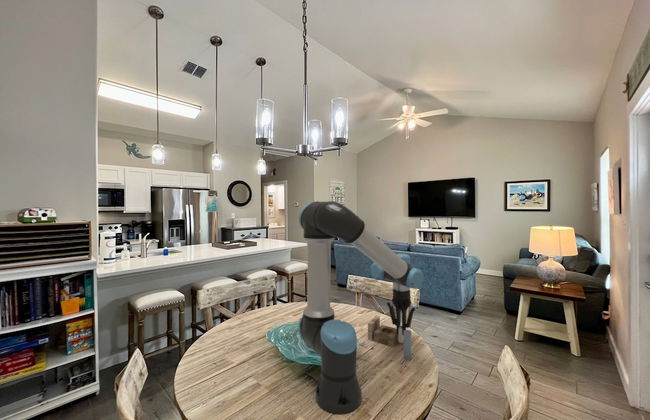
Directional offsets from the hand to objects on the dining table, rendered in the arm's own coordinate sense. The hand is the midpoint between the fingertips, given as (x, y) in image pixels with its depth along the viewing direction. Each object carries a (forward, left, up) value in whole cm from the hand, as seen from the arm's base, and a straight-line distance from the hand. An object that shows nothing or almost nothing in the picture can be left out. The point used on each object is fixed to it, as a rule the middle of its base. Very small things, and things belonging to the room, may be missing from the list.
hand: (401, 341), depth 124 cm
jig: (0, +6, -2) cm, 7 cm away
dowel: (-10, -6, -3) cm, 12 cm away
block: (0, +7, -1) cm, 7 cm away
